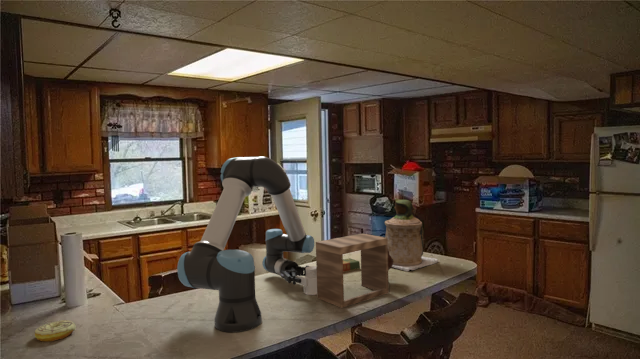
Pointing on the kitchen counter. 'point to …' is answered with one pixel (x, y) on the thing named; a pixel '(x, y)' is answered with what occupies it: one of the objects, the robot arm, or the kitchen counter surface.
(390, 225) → the cookie jar
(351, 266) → the carton
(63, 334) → the decorated donut
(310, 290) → the downlight
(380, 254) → the counter shelf
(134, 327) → the kitchen counter surface
